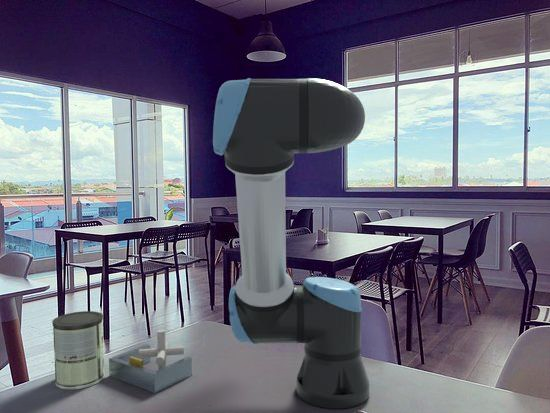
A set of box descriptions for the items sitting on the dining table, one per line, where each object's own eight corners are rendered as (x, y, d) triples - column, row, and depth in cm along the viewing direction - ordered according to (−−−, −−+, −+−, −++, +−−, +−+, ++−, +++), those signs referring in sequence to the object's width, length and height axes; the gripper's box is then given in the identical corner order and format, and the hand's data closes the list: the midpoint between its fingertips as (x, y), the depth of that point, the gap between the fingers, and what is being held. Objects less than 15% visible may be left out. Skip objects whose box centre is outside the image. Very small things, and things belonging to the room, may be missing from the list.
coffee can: (48, 379, 101) (46, 317, 100) (94, 366, 108) (92, 308, 107) (63, 395, 94) (61, 328, 93) (112, 380, 101) (110, 317, 100)
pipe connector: (183, 381, 100) (182, 337, 99) (136, 385, 98) (135, 340, 97) (185, 362, 109) (184, 322, 109) (143, 366, 108) (141, 325, 107)
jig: (191, 374, 103) (191, 352, 103) (155, 393, 94) (154, 368, 94) (147, 360, 112) (146, 339, 111) (109, 375, 103) (108, 353, 102)
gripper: (278, 183, 126) (270, 268, 122) (238, 173, 119) (228, 263, 115) (295, 180, 120) (286, 269, 116) (254, 169, 113) (243, 264, 109)
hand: (257, 266), depth 116 cm, fingers closed
